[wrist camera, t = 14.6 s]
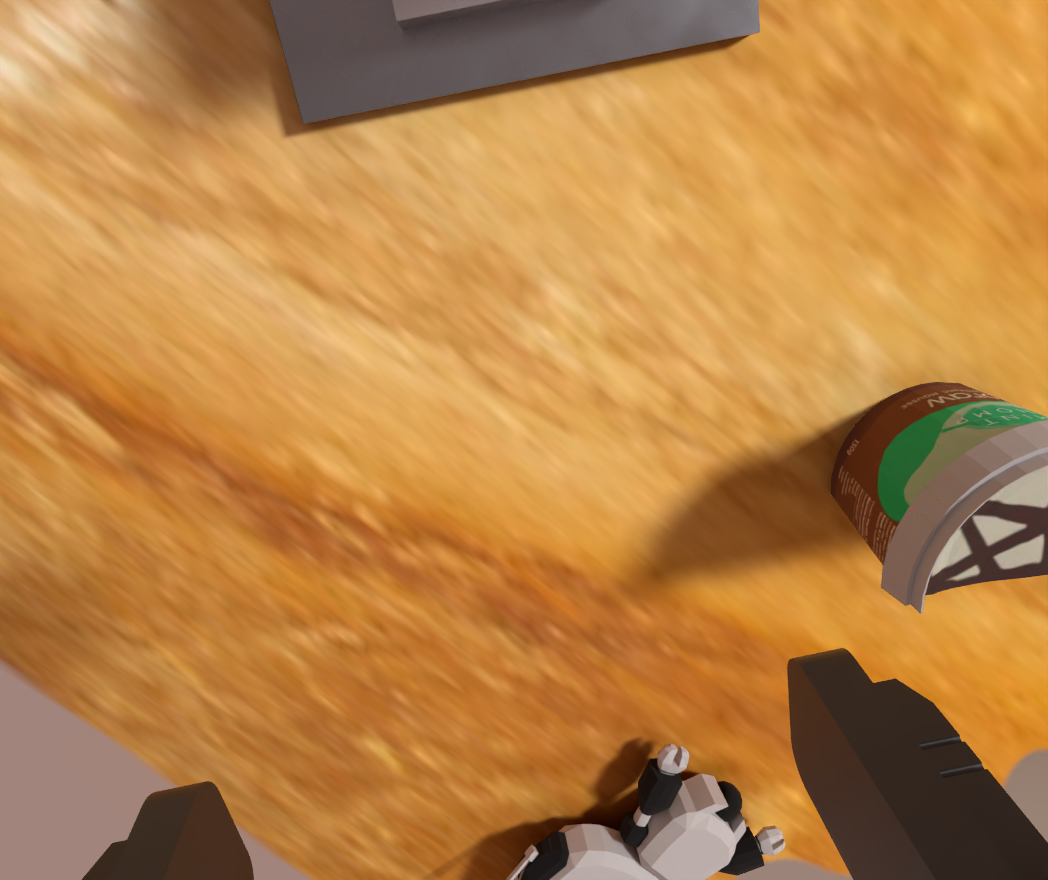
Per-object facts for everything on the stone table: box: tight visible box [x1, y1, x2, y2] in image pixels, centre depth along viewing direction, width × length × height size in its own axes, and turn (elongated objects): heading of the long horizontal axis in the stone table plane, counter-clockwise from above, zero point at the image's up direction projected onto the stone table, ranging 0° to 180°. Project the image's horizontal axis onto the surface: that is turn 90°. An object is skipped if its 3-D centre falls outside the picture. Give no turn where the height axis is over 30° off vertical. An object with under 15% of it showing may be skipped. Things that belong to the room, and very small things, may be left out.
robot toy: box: [506, 744, 785, 880], centre depth 46 cm, size 12×4×15 cm
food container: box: [831, 382, 1048, 614], centre depth 33 cm, size 12×6×10 cm, turn 101°
